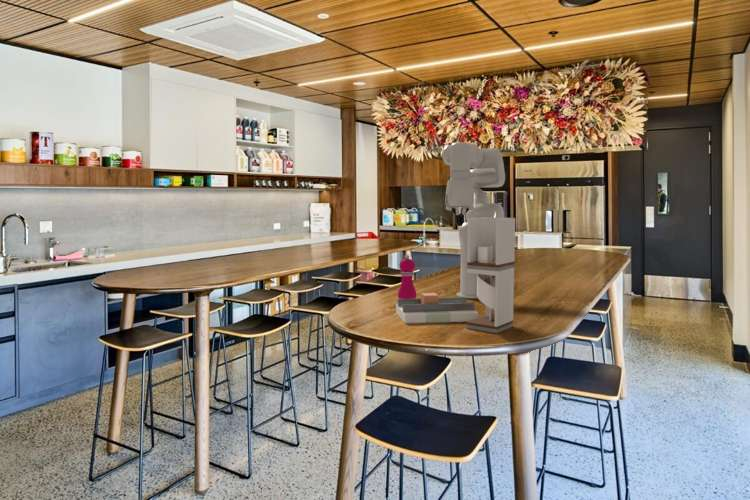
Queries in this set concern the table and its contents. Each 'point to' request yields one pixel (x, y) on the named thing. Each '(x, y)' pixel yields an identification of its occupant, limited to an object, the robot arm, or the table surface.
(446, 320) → the channel deck
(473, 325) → the display case
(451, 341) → the table surface
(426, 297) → the terracotta block
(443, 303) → the channel walls
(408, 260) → the pepper mill
